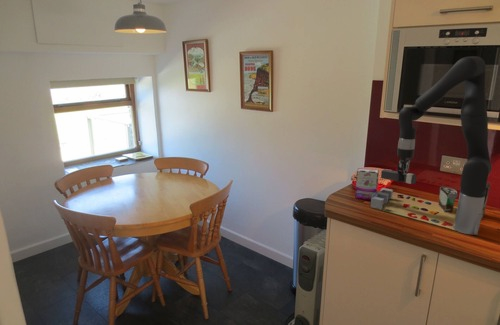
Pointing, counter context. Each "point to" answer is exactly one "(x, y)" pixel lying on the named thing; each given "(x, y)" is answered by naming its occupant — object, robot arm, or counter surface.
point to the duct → (381, 198)
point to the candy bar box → (366, 183)
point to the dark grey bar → (395, 176)
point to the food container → (447, 198)
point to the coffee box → (485, 199)
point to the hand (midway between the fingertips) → (402, 180)
